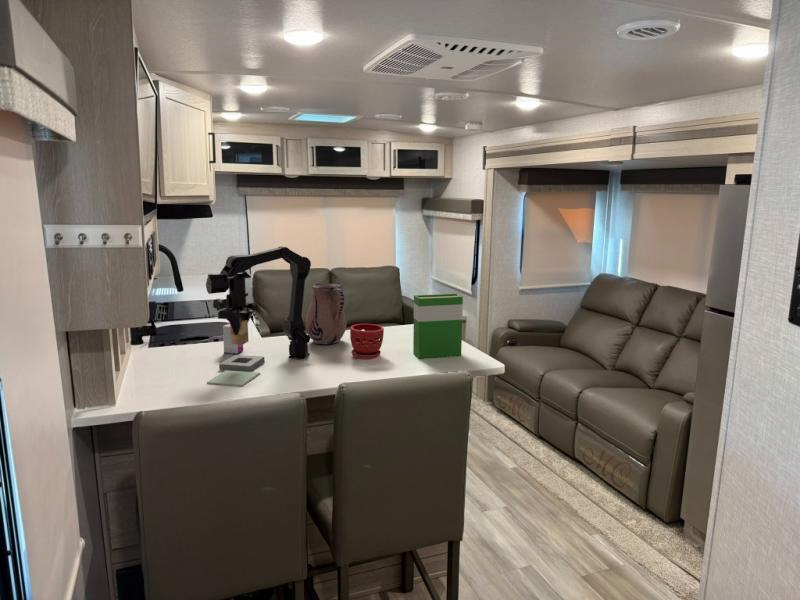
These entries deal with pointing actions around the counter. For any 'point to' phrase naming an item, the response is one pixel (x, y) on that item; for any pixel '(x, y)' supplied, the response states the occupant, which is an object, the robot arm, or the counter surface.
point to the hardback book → (437, 326)
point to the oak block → (240, 334)
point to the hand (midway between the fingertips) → (239, 333)
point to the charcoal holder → (242, 363)
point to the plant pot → (366, 340)
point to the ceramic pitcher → (326, 314)
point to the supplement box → (228, 346)
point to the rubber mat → (233, 378)
